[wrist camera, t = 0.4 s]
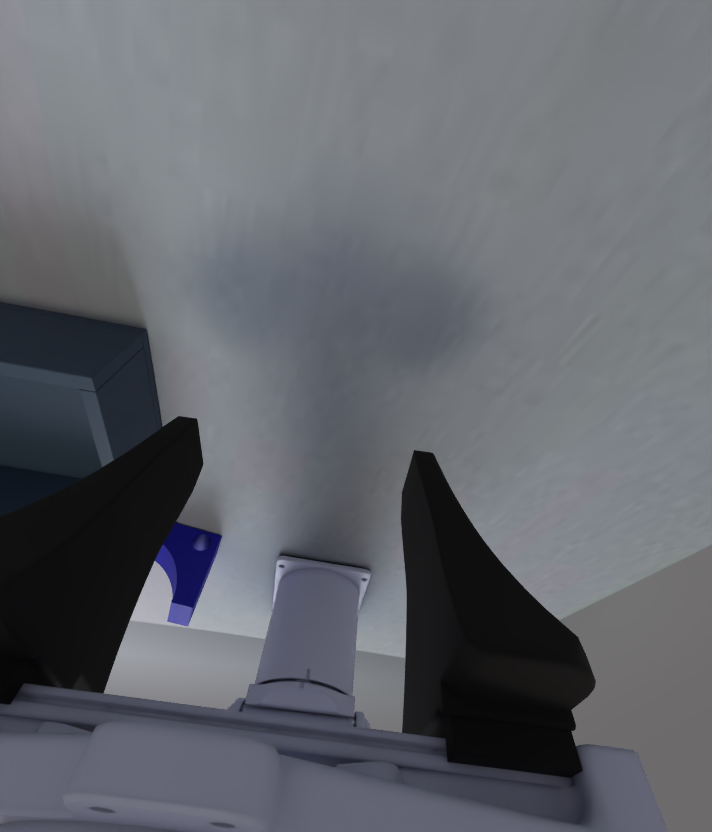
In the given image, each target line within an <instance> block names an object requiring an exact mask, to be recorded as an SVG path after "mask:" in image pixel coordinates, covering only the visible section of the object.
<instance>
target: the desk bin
mask: <svg viewBox="0 0 712 832" xmlns="http://www.w3.org/2000/svg"><path fill="white" fill-rule="evenodd" d="M161 428H162V424H161V418H160V412H159V406H158V399H157V393H156V387H155V380H154V374H153V368H152V362H151V355H150V349H149V343H148V336H147V330H146V329H141V328H135V327H130V326H125V325H119V324H114V323H108V322H103V321H97V320H92V319H87V318H81V317H76V316H70V315H65V314H59V313H54V312H49V311H43V310H38V309H32V308H27V307H21V306H16V305H11V304H5V303H0V516H3V515H5V514H8V513H10V512H13V511H15V510H18V509H20V508H22V507H25V506H27V505H29V504H31V503H34V502H36V501H38V500H40V499H42V498H45V497H47V496H49V495H51V494H54V493H56V492H58V491H60V490H62V489H64V488H66V487H68V486H70V485H72V484H73V483H75V482H77V481H79V480H81V479H83V478H85V477H87V476H88V475H90V474H92V473H94V472H95V471H97V470H99V469H100V468H102V467H104V466H105V465H107V464H108V463H110V462H112V461H113V460H115V459H116V458H118V457H120V456H121V455H123V454H125V453H126V452H128V451H129V450H131V449H132V448H133V447H135V446H136V445H138V444H139V443H141V442H142V441H144V440H145V439H147V438H148V437H150V436H151V435H152V434H154V433H155V432H157V431H158V430H159V429H161Z"/></svg>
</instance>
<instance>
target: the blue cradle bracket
mask: <svg viewBox="0 0 712 832" xmlns="http://www.w3.org/2000/svg"><path fill="white" fill-rule="evenodd" d="M221 537H222V536H220V535H217V534H213V533H210V532H206V531H203V530H199V529H196V528H192V527H189V526H185V525H182V524H178V523H175V524H174V526H173V528H172V529H171V531H170V533H169V535H168V536H167V538H166V540H165V542H164V544H163V545H162V547H161V549H160V551H159V553H158V555H157V557H156V559H155V561H156V562H157V563H158V564H160V566H161V567H162V568H163V569H164V570H165V572H166V573H167V575H168V577H169V579H170V582H171V586H172V592H173V599H172V602H171V606H170V611H169V616H168V622H172V623H176V624H180V625H184V626H188V625H189V622H190V619H191V617H192V614H193V612H194V609H195V607H196V604H197V602H198V599H199V597H200V594H201V592H202V589H203V587H204V584H205V582H206V579H207V577H208V574H209V572H210V569H211V567H212V564H213V562H214V559H215V557H216V554H217V550H218V547H219V544H220V541H221Z"/></svg>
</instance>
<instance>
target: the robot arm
mask: <svg viewBox="0 0 712 832" xmlns="http://www.w3.org/2000/svg"><path fill="white" fill-rule="evenodd" d="M202 467H203V458H202V450H201V443H200V436H199V428H198V421H197V419H195V418H188V417H181V416H178V417H177V418H175V419H174V420H172V421H171V422H169V423H168V424H167V425H165V426H164V427H162V428H161V429H159V430H158V431H157V432H155V433H154V434H152V435H151V436H150V437H148V438H147V439H145V440H144V441H142V442H141V443H139V444H138V445H136V446H135V447H133V448H132V449H131V450H129V451H128V452H126V453H125V454H123V455H121V456H120V457H118V458H116V459H115V460H113V461H112V462H110V463H108V464H107V465H105V466H104V467H102V468H100V469H99V470H97V471H95V472H94V473H92V474H90V475H88V476H87V477H85V478H83V479H81V480H79V481H77V482H75V483H73V484H72V485H70V486H68V487H66V488H64V489H62V490H60V491H58V492H56V493H54V494H51V495H49V496H47V497H45V498H42V499H40V500H38V501H36V502H34V503H31V504H29V505H27V506H25V507H22V508H20V509H18V510H15V511H13V512H10V513H8V514H5V515H3V516H0V832H668V830H667V827H666V825H665V822H664V819H663V817H662V814H661V812H660V809H659V807H658V804H657V802H656V799H655V796H654V794H653V791H652V788H651V786H650V783H649V781H648V778H647V775H646V773H645V770H644V768H643V765H642V762H641V760H640V757H639V755H638V753H637V752H635V751H634V750H630V749H623V748H615V747H608V746H600V745H589V744H585V745H578V746H575V743H574V739H573V736H572V732H571V731H574V730H575V728H576V724H575V721H574V717H573V714H572V711H571V710H572V709H573V708H574V707H575V706H577V705H578V704H579V703H580V702H582V701H583V700H584V699H585V698H587V697H588V696H589V694H590V693H591V692H592V691H593V689H594V688H595V682H596V681H595V678H594V676H593V673H592V670H591V667H590V664H589V661H588V659H587V656H586V654H585V652H584V650H583V647H582V645H581V643H580V641H579V638H578V637H577V636H576V635H575V634H574V633H572V632H571V631H570V630H569V629H568V628H567V627H566V626H564V625H563V624H562V623H561V622H560V621H559V620H558V619H557V618H555V617H554V616H553V615H552V614H551V613H550V612H549V611H547V610H546V609H545V608H544V607H543V606H542V605H541V604H540V603H539V602H538V601H537V600H536V599H535V598H534V597H533V596H532V595H531V594H530V593H529V592H528V591H527V590H526V589H525V588H524V587H523V586H522V585H521V584H520V583H519V582H518V581H517V580H516V579H515V577H514V576H513V575H512V574H511V573H510V572H509V571H508V570H507V569H506V568H505V566H504V565H503V564H502V563H501V562H500V561H499V559H498V558H497V557H496V556H495V555H494V553H493V552H492V551H491V549H490V548H489V547H488V546H487V544H486V543H485V542H484V540H483V539H482V537H481V536H480V535H479V533H478V532H477V530H476V529H475V528H474V526H473V524H472V523H471V521H470V520H469V518H468V517H467V515H466V514H465V512H464V510H463V509H462V507H461V505H460V504H459V502H458V500H457V499H456V497H455V495H454V493H453V492H452V490H451V488H450V486H449V484H448V482H447V480H446V478H445V476H444V474H443V472H442V470H441V468H440V466H439V464H438V462H437V460H436V458H435V456H434V454H433V453H430V452H423V451H416V450H414V453H413V456H412V460H411V463H410V467H409V470H408V474H407V477H406V481H405V484H404V488H403V491H402V507H401V525H402V538H403V550H404V561H405V573H406V587H407V625H406V662H405V688H404V689H405V690H404V691H405V692H404V709H403V728H402V733H399V732H391V731H383V730H376V729H370V724H369V723H368V721H367V720H366V718H365V716H364V714H363V713H362V712H355V715H354V708H355V697H354V696H352V692H353V679H354V664H355V650H356V635H357V621H358V612H359V609H360V606H361V603H362V600H363V598H364V595H365V592H366V589H367V586H368V583H369V580H370V577H371V572H370V571H369V570H367V569H362V568H356V567H350V566H343V565H337V564H331V563H325V562H319V561H313V560H307V559H300V558H294V557H288V556H279V557H277V561H276V571H275V582H274V594H273V606H272V615H271V619H270V623H269V627H268V631H267V636H266V640H265V644H264V648H263V652H262V656H261V660H260V665H259V669H258V673H257V677H256V681H255V684H250V685H249V689H248V692H247V696H246V698H238V699H236V701H235V702H234V703H233V704H232V705H231V706H230V707H229V708H228V709H227V710H224V709H216V708H209V707H201V706H193V705H186V704H178V703H171V702H163V701H155V700H148V699H140V698H132V697H125V696H118V695H110V694H103V693H104V690H105V687H106V684H107V681H108V678H109V675H110V673H111V669H112V667H113V664H114V661H115V658H116V655H117V652H118V650H119V647H120V644H121V642H122V639H123V636H124V634H125V631H126V628H127V626H128V623H129V621H130V618H131V615H132V613H133V611H134V608H135V606H136V603H137V601H138V598H139V596H140V593H141V591H142V588H143V586H144V584H145V581H146V579H147V577H148V575H149V572H150V570H151V568H152V565H153V563H154V561H155V559H156V557H157V555H158V553H159V551H160V549H161V547H162V545H163V544H164V542H165V540H166V538H167V536H168V535H169V533H170V531H171V529H172V528H173V526H174V524H175V522H176V521H177V519H178V517H179V515H180V513H181V512H182V510H183V508H184V506H185V504H186V503H187V501H188V499H189V497H190V495H191V493H192V492H193V489H194V487H195V485H196V482H197V480H198V477H199V474H200V472H201V469H202Z"/></svg>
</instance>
